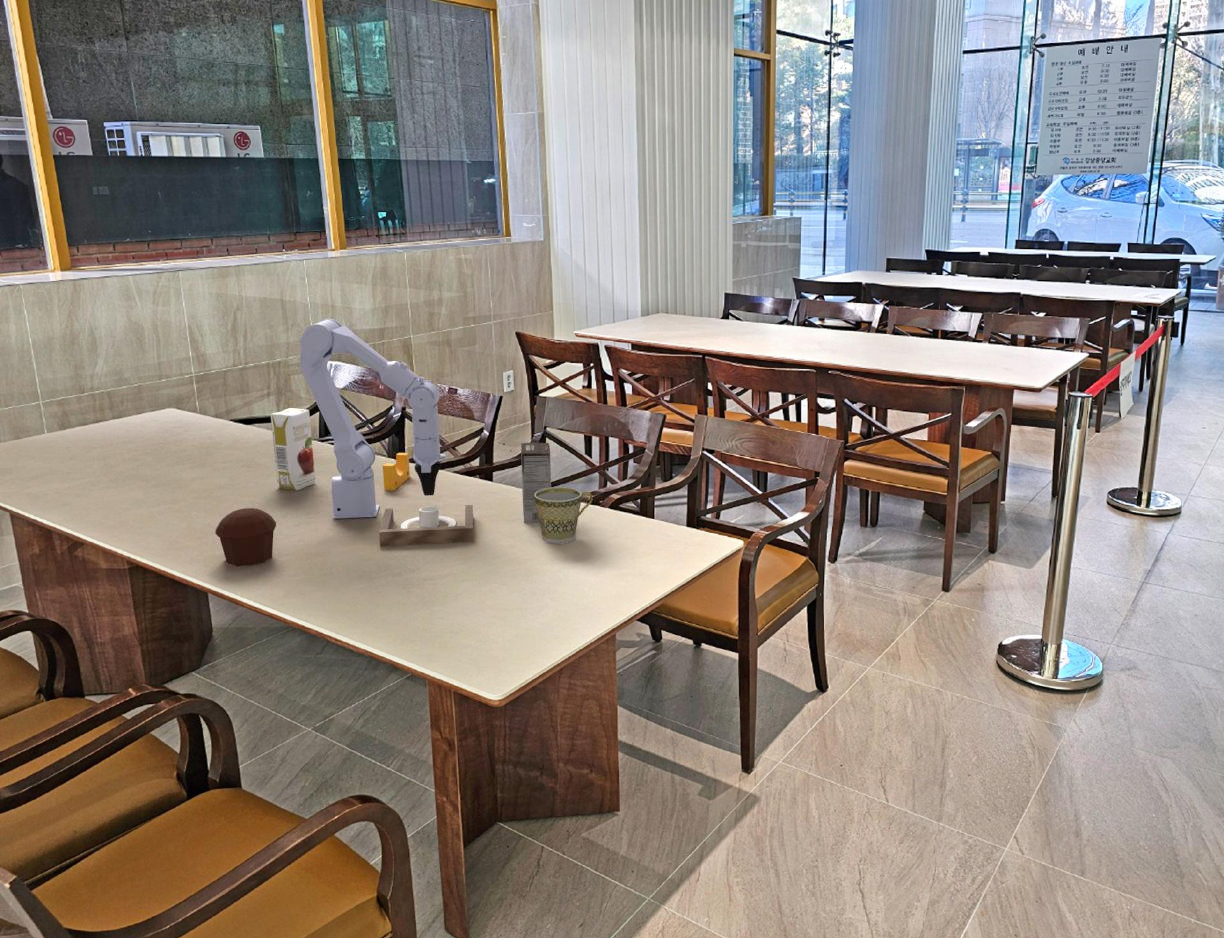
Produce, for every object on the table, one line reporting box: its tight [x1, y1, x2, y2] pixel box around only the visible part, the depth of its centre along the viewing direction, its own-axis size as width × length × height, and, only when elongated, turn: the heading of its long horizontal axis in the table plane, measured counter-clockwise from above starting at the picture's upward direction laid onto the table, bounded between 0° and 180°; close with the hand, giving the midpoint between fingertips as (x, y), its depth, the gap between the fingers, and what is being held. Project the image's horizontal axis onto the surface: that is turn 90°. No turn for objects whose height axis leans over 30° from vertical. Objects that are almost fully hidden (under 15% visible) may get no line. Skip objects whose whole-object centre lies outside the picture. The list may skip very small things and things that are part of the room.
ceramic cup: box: [534, 486, 594, 545], centre depth 207 cm, size 13×10×10 cm
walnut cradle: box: [378, 504, 474, 547], centre depth 212 cm, size 19×16×3 cm
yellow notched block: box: [382, 452, 411, 491], centre depth 247 cm, size 12×4×6 cm, turn 173°
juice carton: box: [270, 407, 316, 491], centre depth 243 cm, size 8×9×19 cm
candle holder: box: [400, 505, 457, 529], centre depth 216 cm, size 12×12×4 cm
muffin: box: [215, 507, 277, 567], centre depth 196 cm, size 12×11×10 cm
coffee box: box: [520, 442, 552, 523], centre depth 220 cm, size 9×6×16 cm
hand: (429, 494), depth 223 cm, fingers closed
